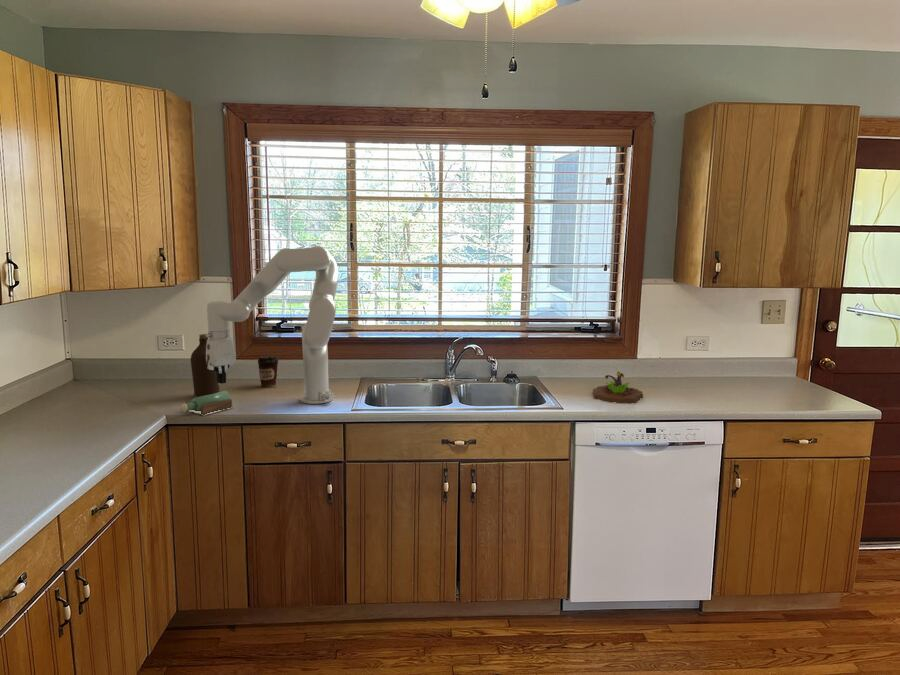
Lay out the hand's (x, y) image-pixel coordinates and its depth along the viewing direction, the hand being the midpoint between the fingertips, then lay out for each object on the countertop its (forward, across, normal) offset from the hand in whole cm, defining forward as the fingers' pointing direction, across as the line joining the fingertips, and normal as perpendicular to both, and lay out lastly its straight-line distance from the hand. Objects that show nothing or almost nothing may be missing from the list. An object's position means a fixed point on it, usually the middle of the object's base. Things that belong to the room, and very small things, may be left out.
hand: (221, 382), depth 241 cm
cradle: (+9, -6, 0) cm, 11 cm away
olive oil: (+9, +5, +17) cm, 20 cm away
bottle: (+6, +2, 0) cm, 6 cm away
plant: (+10, +103, -116) cm, 155 cm away
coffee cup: (+9, +30, +10) cm, 33 cm away
